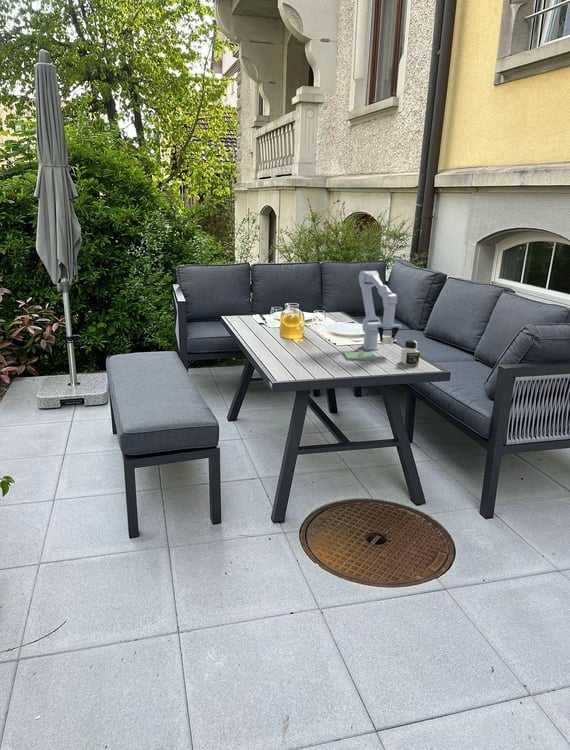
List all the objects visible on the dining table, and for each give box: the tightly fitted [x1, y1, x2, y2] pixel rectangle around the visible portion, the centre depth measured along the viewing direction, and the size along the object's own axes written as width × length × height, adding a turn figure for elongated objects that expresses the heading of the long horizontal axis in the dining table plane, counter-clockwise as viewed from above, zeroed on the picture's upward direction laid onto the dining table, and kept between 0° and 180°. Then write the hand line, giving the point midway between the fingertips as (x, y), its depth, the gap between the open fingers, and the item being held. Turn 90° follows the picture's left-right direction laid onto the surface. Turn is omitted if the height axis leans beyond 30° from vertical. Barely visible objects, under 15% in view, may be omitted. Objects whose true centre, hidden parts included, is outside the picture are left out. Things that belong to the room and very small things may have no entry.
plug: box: [379, 335, 394, 346], centre depth 307 cm, size 5×6×4 cm
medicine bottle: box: [400, 339, 421, 366], centre depth 295 cm, size 7×7×12 cm
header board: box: [342, 349, 378, 361], centre depth 304 cm, size 12×16×4 cm
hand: (386, 341), depth 307 cm, fingers closed on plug, 5 cm apart
